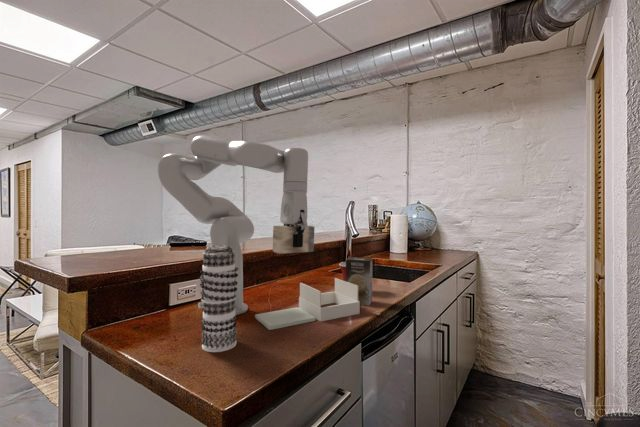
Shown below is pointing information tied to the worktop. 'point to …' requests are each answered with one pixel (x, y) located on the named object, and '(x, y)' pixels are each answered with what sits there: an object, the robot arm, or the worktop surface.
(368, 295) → the coffee box
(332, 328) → the worktop surface
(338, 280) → the carton
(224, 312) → the decorative candle
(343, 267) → the plastic cup
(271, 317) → the sage board
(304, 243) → the birch box
